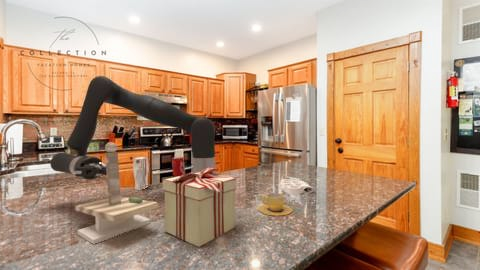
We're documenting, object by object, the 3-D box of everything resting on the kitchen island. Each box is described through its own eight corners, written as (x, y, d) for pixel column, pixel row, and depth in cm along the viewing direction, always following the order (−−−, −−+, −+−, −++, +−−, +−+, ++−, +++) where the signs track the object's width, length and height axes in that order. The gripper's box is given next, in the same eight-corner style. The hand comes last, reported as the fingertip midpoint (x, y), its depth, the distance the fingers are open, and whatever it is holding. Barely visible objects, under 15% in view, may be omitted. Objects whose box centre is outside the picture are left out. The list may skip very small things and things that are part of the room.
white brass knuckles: (316, 195, 100) (282, 196, 100) (303, 185, 118) (274, 185, 118) (316, 187, 100) (282, 188, 100) (303, 178, 118) (274, 179, 118)
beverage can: (182, 189, 110) (182, 158, 110) (170, 189, 112) (169, 158, 111) (187, 186, 116) (187, 156, 116) (175, 186, 118) (175, 156, 117)
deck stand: (77, 234, 65) (77, 215, 65) (132, 216, 78) (132, 200, 78) (93, 244, 59) (93, 224, 59) (150, 223, 72) (149, 206, 72)
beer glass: (136, 187, 116) (135, 157, 116) (150, 186, 117) (150, 156, 116) (131, 190, 109) (130, 159, 109) (146, 190, 110) (145, 158, 109)
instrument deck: (75, 210, 70) (71, 145, 71) (115, 200, 80) (111, 143, 80) (114, 221, 56) (109, 140, 57) (157, 207, 66) (152, 138, 66)
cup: (293, 206, 86) (293, 192, 86) (290, 218, 75) (290, 201, 75) (262, 203, 90) (262, 189, 90) (254, 214, 79) (254, 198, 78)
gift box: (212, 253, 55) (211, 180, 54) (159, 234, 64) (158, 172, 64) (248, 226, 69) (248, 168, 68) (201, 214, 79) (200, 163, 78)
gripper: (62, 158, 74) (85, 162, 64) (106, 154, 84) (131, 156, 74) (63, 181, 74) (86, 189, 64) (107, 174, 85) (132, 180, 74)
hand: (110, 171), depth 69 cm, fingers closed
